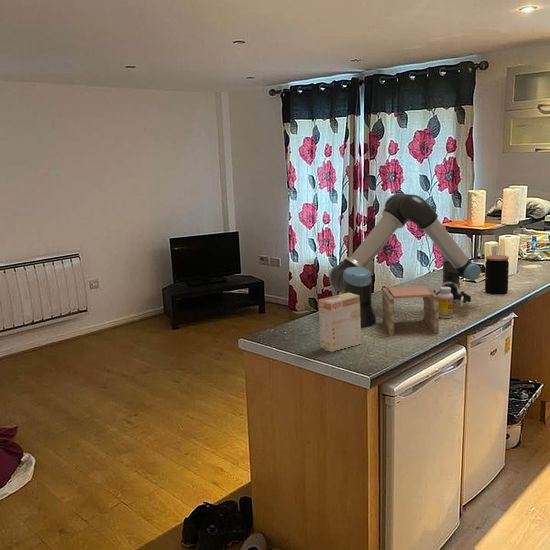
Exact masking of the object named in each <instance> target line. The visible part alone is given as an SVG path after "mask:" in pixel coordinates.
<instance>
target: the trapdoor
mask: <svg viewBox="0 0 550 550" xmlns="http://www.w3.org/2000/svg"><path fill="white" fill-rule="evenodd" d="M424 286H425V285H411V286H410V285H409V286H408V285H407V286H391V287H387V288H386V289H387V290H388V291H389V292H390V294H391V296H392V297H393V299H409V298H410V299H412V298H423V297H432V294H431V293H430V292H429V291H428V290H427V289H426V288H425V287H424Z"/></svg>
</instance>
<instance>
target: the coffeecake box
mask: <svg viewBox="0 0 550 550" xmlns="http://www.w3.org/2000/svg"><path fill="white" fill-rule="evenodd" d="M318 319H319V333H320V334H319V337H320V340H319V341H320V343H319V344H320V348H321V347H323V348H325V349H327V350H329V351H335V350H339V351H341V350H340V349H343V350H345V349H344V348H346V349H348V347H350V348H352V347H351V346H353V347H357V346H360V345H362V327H361V320H360V295H356V294H352V293H345V294H343V293H340V294H338V295H333V296H327V297H324V298H320V299H318ZM359 344H360V345H359Z"/></svg>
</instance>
